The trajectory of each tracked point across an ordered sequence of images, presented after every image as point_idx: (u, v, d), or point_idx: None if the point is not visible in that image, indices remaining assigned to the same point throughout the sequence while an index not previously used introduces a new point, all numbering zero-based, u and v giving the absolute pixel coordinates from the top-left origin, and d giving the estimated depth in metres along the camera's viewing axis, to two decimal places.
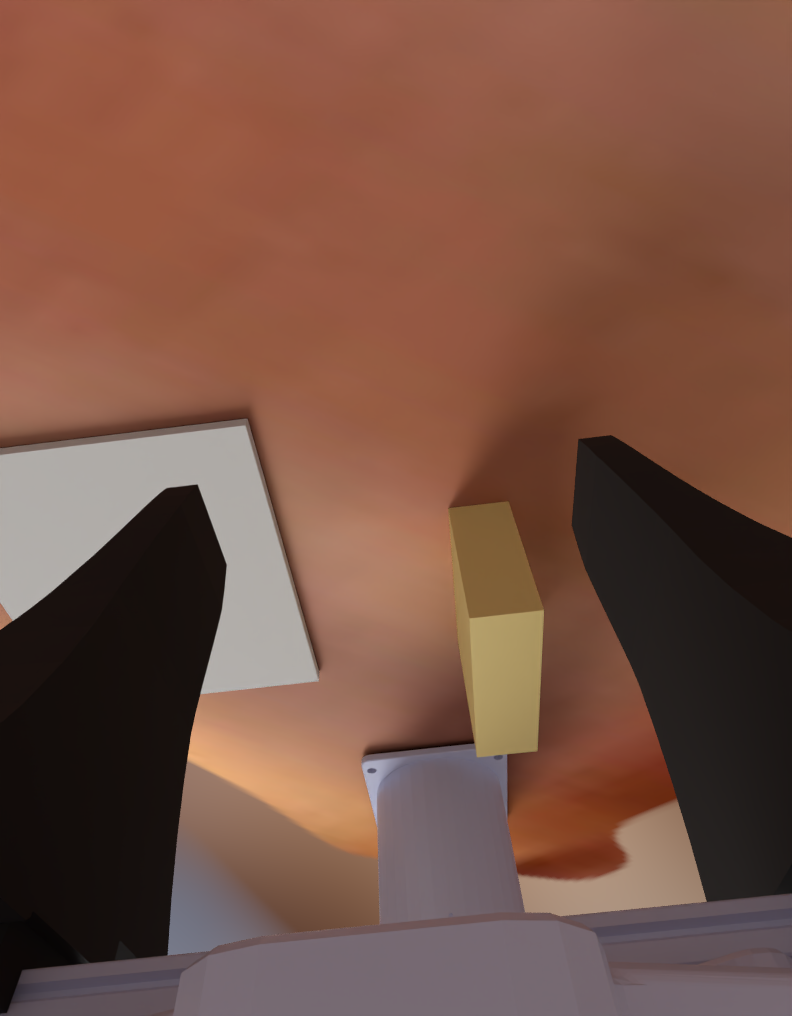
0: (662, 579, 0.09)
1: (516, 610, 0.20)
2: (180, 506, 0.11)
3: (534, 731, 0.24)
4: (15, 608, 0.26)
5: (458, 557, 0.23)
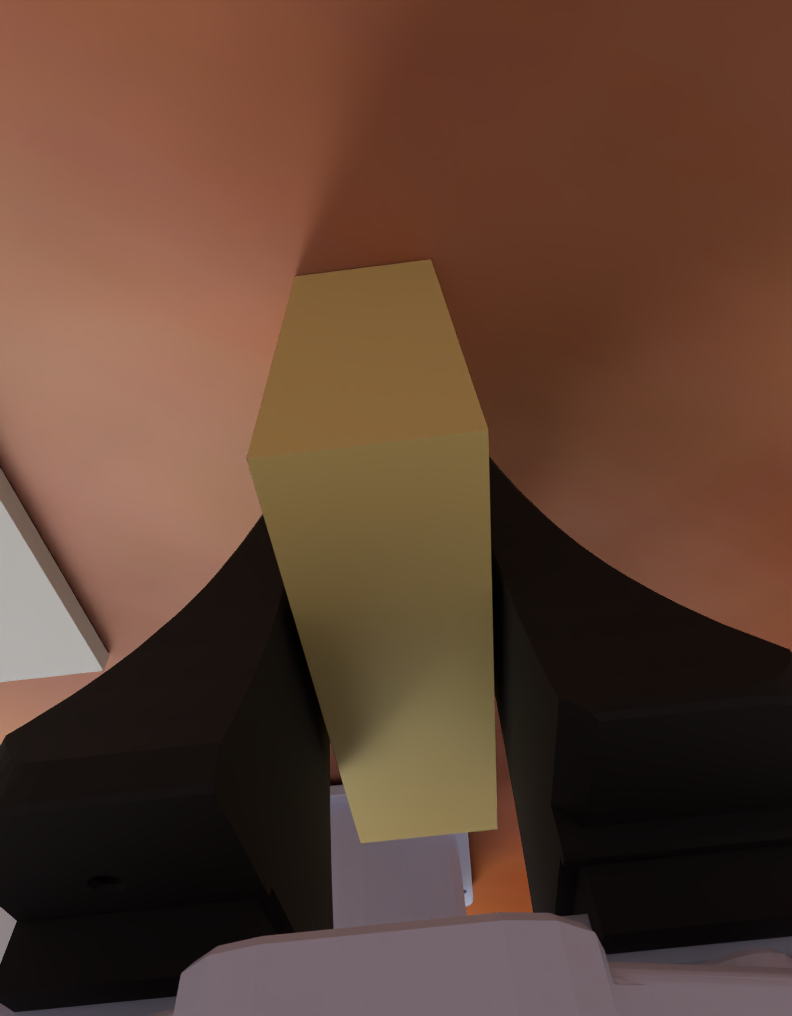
0: (494, 598, 0.09)
1: (400, 432, 0.06)
2: None
3: (486, 790, 0.10)
4: None
5: (280, 343, 0.09)
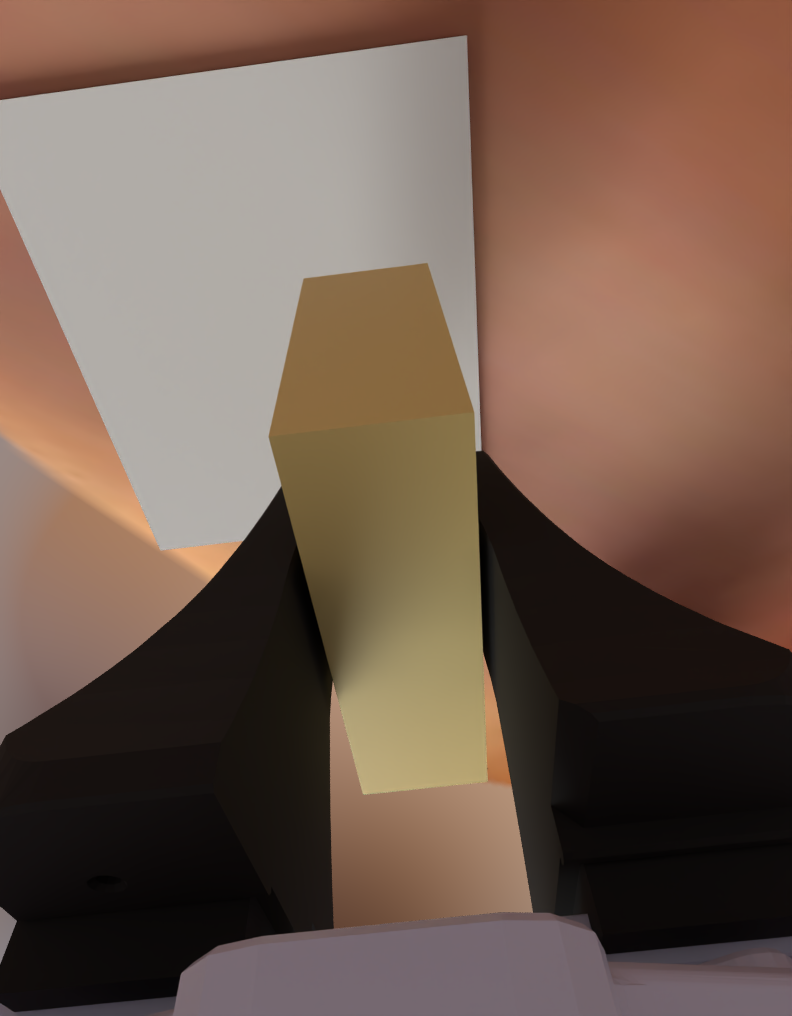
0: (494, 598, 0.09)
1: (399, 414, 0.07)
2: None
3: (477, 743, 0.11)
4: (100, 380, 0.19)
5: (292, 339, 0.10)
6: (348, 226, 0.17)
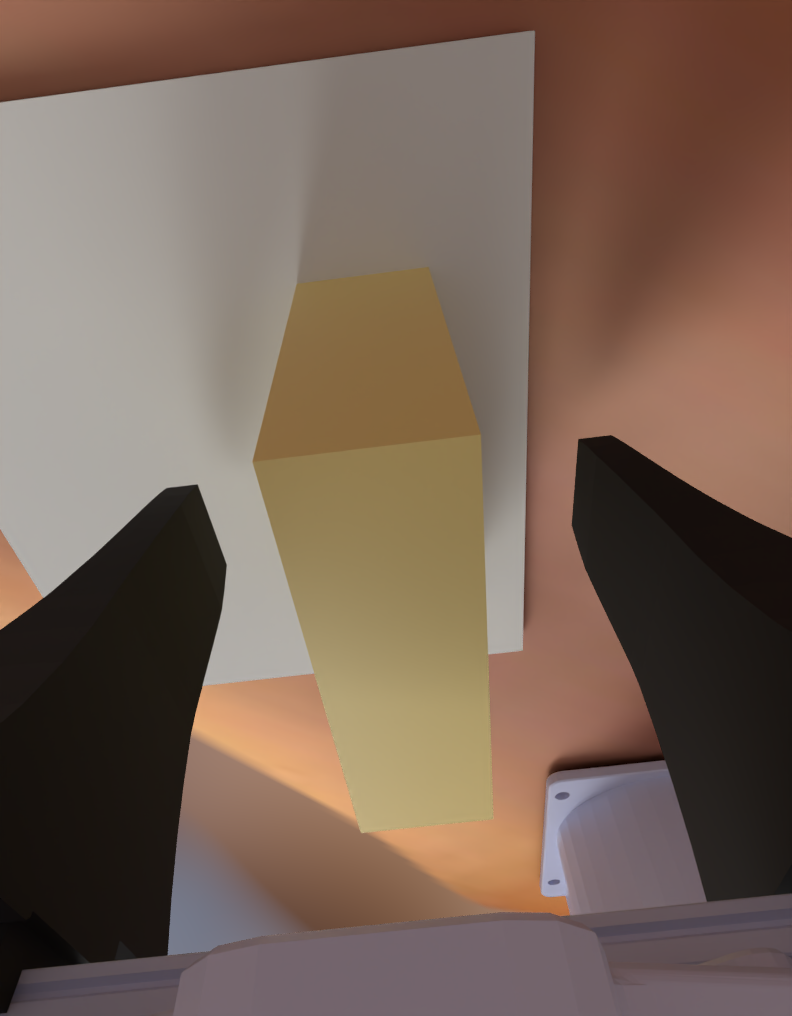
0: (662, 579, 0.09)
1: (397, 437, 0.07)
2: (180, 506, 0.11)
3: (482, 780, 0.10)
4: (6, 505, 0.14)
5: (282, 350, 0.09)
6: None
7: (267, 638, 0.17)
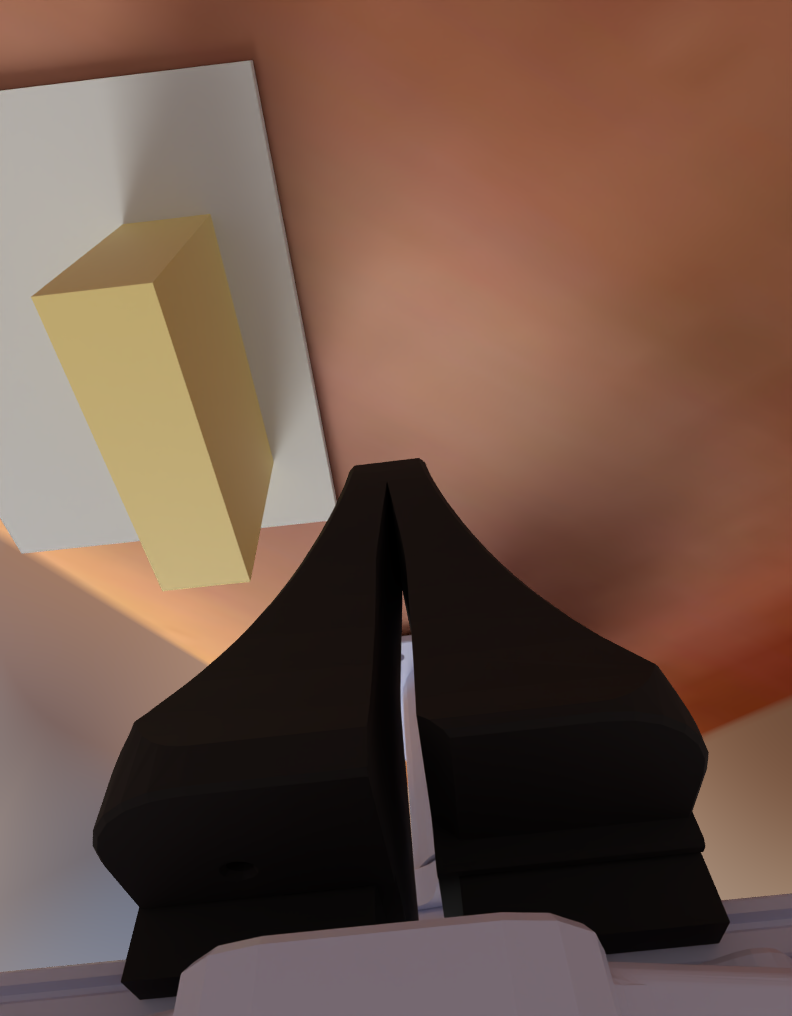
0: None
1: (110, 285, 0.12)
2: (386, 482, 0.10)
3: (231, 544, 0.16)
4: None
5: (85, 255, 0.15)
6: None
7: None
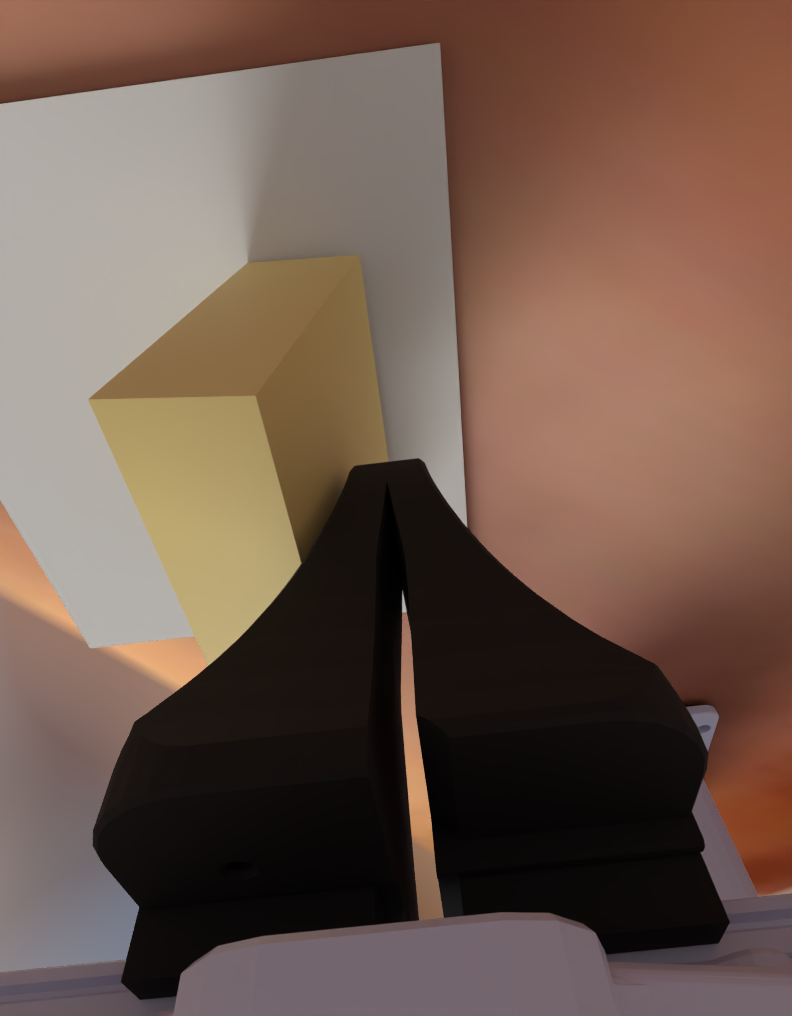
0: None
1: (197, 392, 0.08)
2: (386, 482, 0.10)
3: None
4: None
5: (186, 317, 0.11)
6: None
7: None
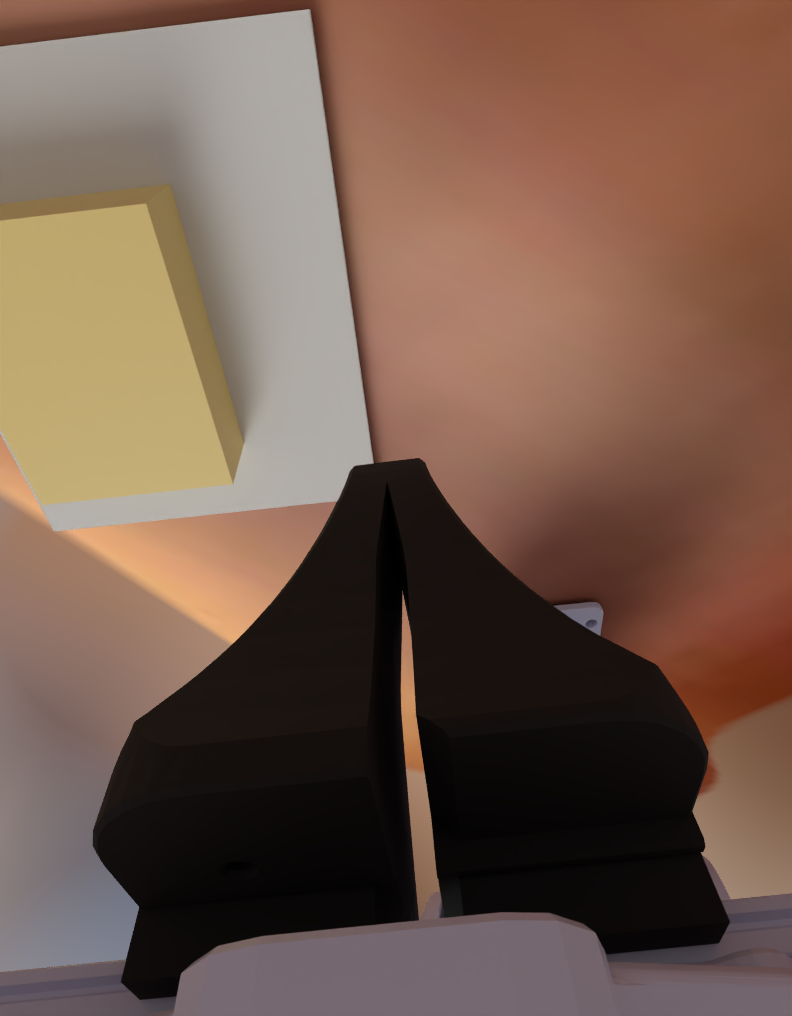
0: None
1: None
2: (386, 482, 0.10)
3: (24, 466, 0.19)
4: None
5: (57, 198, 0.17)
6: (209, 202, 0.17)
7: None
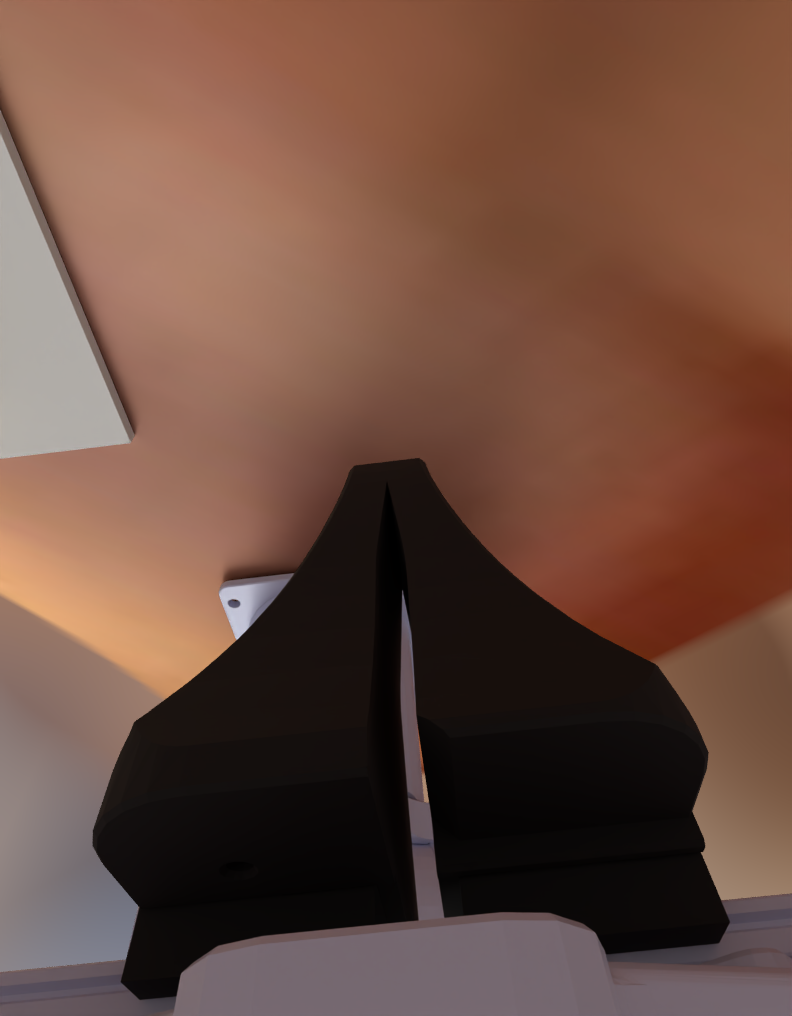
0: None
1: None
2: (386, 482, 0.10)
3: None
4: None
5: None
6: None
7: None
